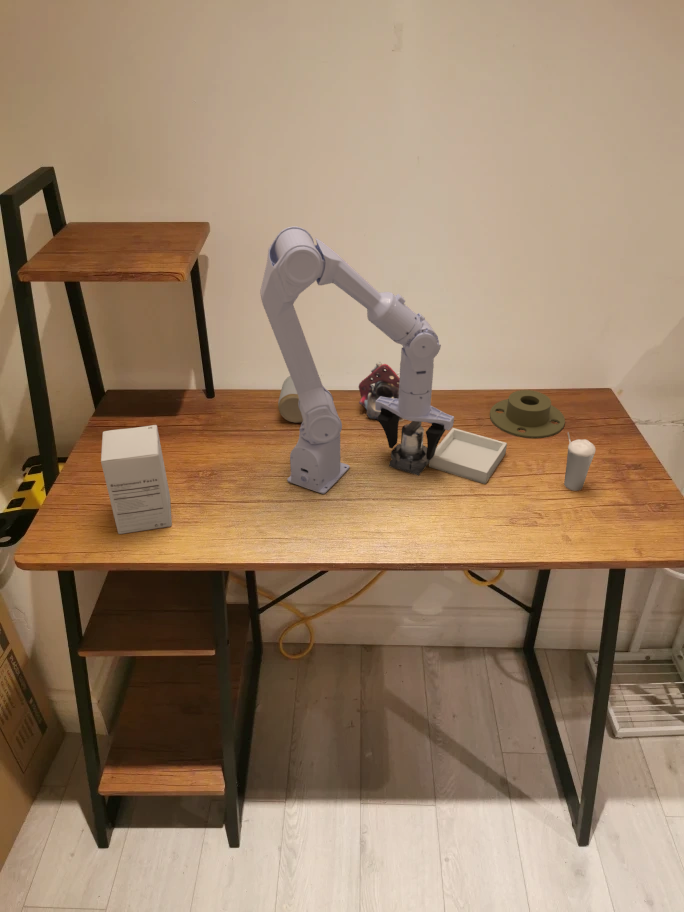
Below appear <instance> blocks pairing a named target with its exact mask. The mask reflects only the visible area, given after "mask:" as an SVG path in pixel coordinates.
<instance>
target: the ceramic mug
mask: <svg viewBox="0 0 684 912" xmlns="http://www.w3.org/2000/svg"><path fill="white" fill-rule="evenodd" d="M298 402H299V396H298V394H297V391H296V388H295V386H294V383H293V381H292V378H291V376H290V375H289V376H288V377H286V379H285V380H284V381H283V382H282V386H281V390H280V394H279V397H278V401H277V404H278V405H277V406H278V411H279V414H280V415H281V416H282V418H283V419H284V420H286V421H288V422H290V423H295V424H297V423H302V422H303V418H302V414H301V411H300V409H299V406H298Z"/></svg>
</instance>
